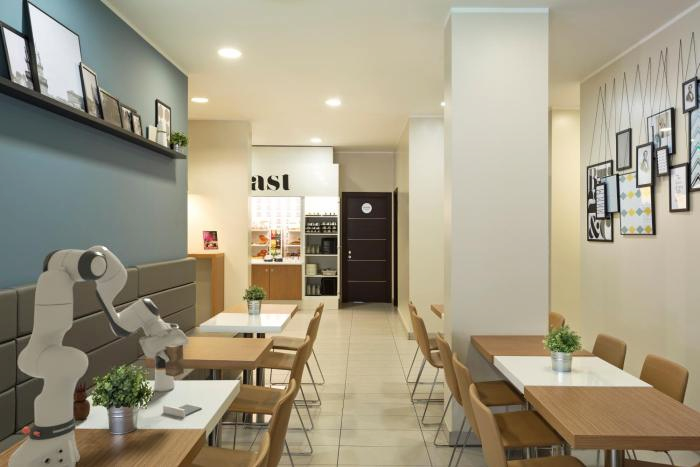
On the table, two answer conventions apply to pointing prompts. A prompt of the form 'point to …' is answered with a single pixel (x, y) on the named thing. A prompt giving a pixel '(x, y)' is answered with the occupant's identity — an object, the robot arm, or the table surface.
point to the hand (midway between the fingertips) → (175, 358)
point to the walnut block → (174, 360)
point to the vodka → (162, 376)
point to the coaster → (190, 409)
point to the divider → (174, 411)
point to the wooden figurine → (81, 403)
